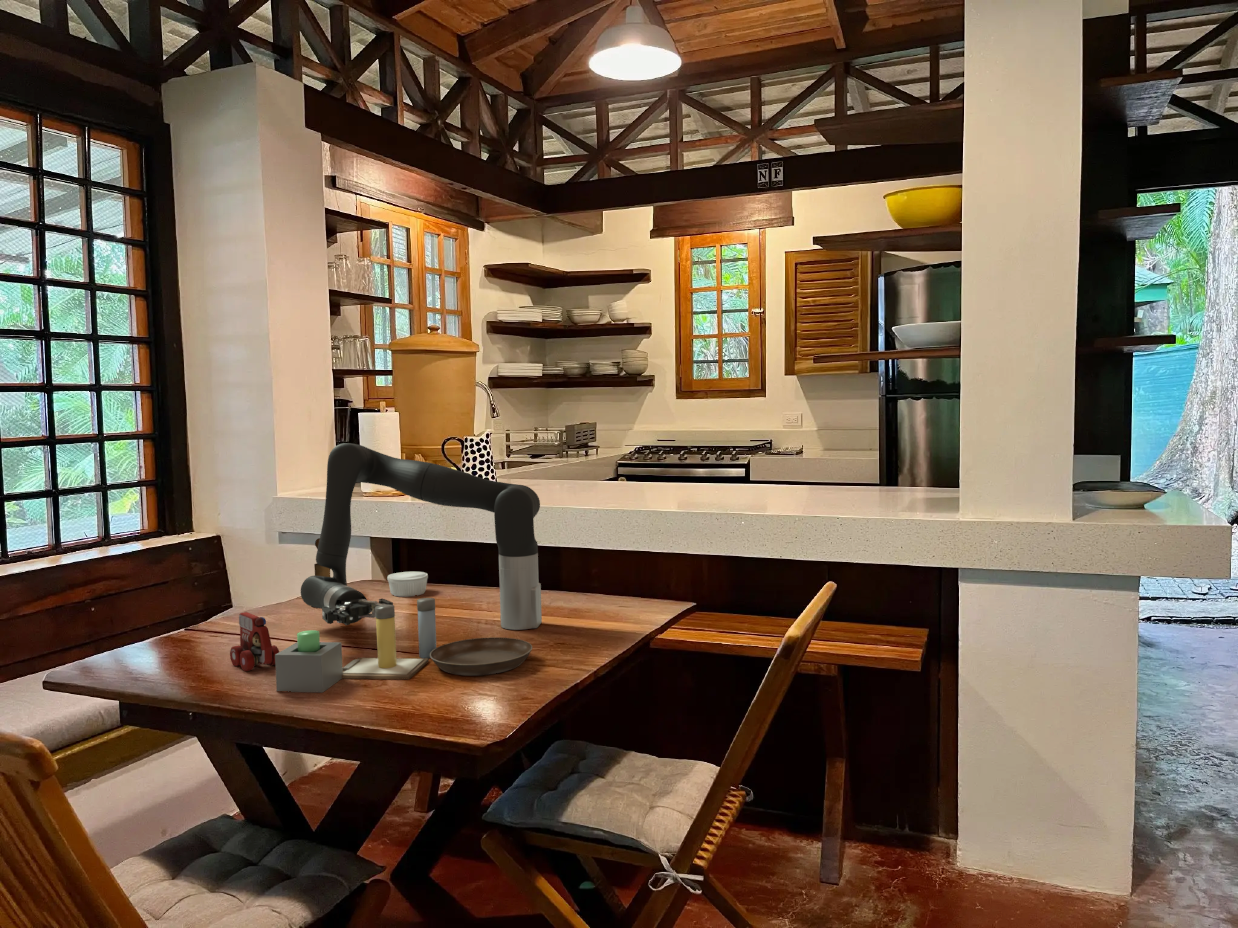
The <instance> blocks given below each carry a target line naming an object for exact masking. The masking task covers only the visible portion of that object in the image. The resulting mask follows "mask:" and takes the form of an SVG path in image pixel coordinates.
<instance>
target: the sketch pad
mask: <svg viewBox="0 0 1238 928" xmlns="http://www.w3.org/2000/svg"><path fill="white" fill-rule="evenodd" d="M396 660H397V665H396V666H395V667H392V668H379V667H378V657H358V658H357V659H353V660H351V661H350V662H349V663H347V664H346V665H345V666H342V667H343V675H342V679H350V680H351V679H355V680H357V679H358V680H361V679H363V680H365V679H366V680H371V679H372V680H410V679H411V678H412V677H413V676H414V675H416V674H417V673H418V672H419V671H420V670H421V669H422V668H423V667H424V666H425V665H427V664H428V663H429V661H430V658H420V657H418V658H416V657H415V658H414V657H413V658H410V657H409V658H408V657H407V658H404V657H396Z"/></svg>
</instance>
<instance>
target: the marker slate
mask: <svg viewBox="0 0 1238 928" xmlns="http://www.w3.org/2000/svg"><path fill="white" fill-rule="evenodd" d="M416 609H417V630H418V631H417V633H418V655H419V656H418V658H423V659H431V657H430V653H431V651H432V650H434V649H435V648H437V629H436V628H437V626H436V621H437V620H436V598H433V597H423V598H418V599H416Z"/></svg>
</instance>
